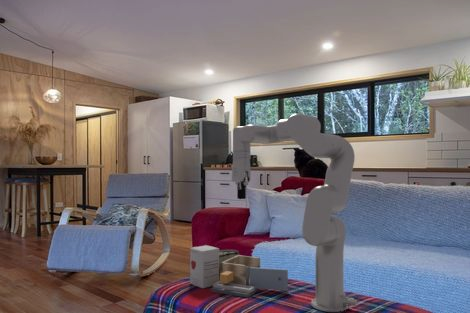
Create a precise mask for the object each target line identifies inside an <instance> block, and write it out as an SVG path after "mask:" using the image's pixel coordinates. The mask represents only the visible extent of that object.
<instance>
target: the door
mask: <svg viewBox="0 0 470 313" xmlns="http://www.w3.org/2000/svg"><path fill="white" fill-rule="evenodd" d="M288 270H289V269H284V268H283V269H282V268H270V267H269V268H265V267H260V268H254V267H250V285H249V267H248V266H246V285H247V286H253V287H255V288H256V289H257V290H258V289H259V290H269V291H270V290H271V291H286V292H288V290H289V286H288V285H289V278H288V277H289V271H288Z"/></svg>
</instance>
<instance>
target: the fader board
mask: <svg viewBox="0 0 470 313" xmlns="http://www.w3.org/2000/svg"><path fill="white" fill-rule="evenodd" d="M210 292H212V293H216V294H224V295H230V296H236V297H241V298H247V299H248V298H250V297H251V296H253V295H254V294H256V293H258V289H256V288H255V287H253V286H250V285H249V286H247V285H240V284H233V283H229V285H225V283H221V282H220V280H219V281H218V282H216V283H214V284H213V286H212V287H211V288H210Z"/></svg>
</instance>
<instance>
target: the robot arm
mask: <svg viewBox="0 0 470 313" xmlns="http://www.w3.org/2000/svg"><path fill="white" fill-rule="evenodd" d="M321 125H322V124H321V122H320V120H319V119H318V118H317V117H316V116H313V115H309V114H304V113H294V114H292V115H290V116H289V117H288V118H284V119H280V120H279V121H277V122H276V125H258V124H246V125H244V126H236V127H235V126H234V128H233V129H232V164H231V165H232V166H231V167H232V168H231V181H232V182H233V183H235V185H236V191H237V192H236V194H237V197H236V199H238V200H246V198H247V186H248V185H249V182H251V179H252V178H251V177H252V176H251V175H252V174H251V144H260V145H261V144H263V145H269V144H276V143H277V144H279V143H284V142H289V141H294V142H295V143H296V144H297V145H298V146H299V147H300V148H301V149H302V150H304V152H305V153H307V154H308V155H309V156H310V157H312V158H316V159H329V160H330V163H329V164H328V165H327V166H328V167H327V169H326V172H325V179H324V183H323V185H318V186H315V187H313V189H311V191H310V192H309V194H308V195H307V198H306V201H305V207H304V208H305V209H304V214H303V219H302V227H301V231H302V237H303V239H304V241H305V242H306V243H307V244H308V245H311V246H312V247H315V259H314V260H315V262H314V263H315V266H314V267H315V298H313V299H311V302H310V305H311V307H312V308H314V309H316V310H318V311H320V312H321V311H322V312H328V313H341V312H345V311H347V310H348V309H349V306H352V307H357V305H358V304H357V303H358V302H357V299H355V298H354V297H348V296H346V295H347V292H344V254H345V253H344V251H345V241H346V235H347V232H346V231H347V230H346V229H347V228H346V225H345V224H346V223H345V222H344V221H343V219H342V218H341V217H339V216H337V215H334V214H335V213H338V212H341V211H343V210H344V209H345V208H346V206H347V203H348V199H349V193H350V188H351V181H352V174H353V168H354V165H355V150H354V148H353V146H352V145H351V143H350V142H349V141H348V140H347V139H346V138H345V137H342V136H340V135H336V134H332V133H322V132H321V128H322V127H321ZM333 213H334V214H333ZM346 309H347V310H346ZM344 310H345V311H344ZM340 311H341V312H340Z"/></svg>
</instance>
